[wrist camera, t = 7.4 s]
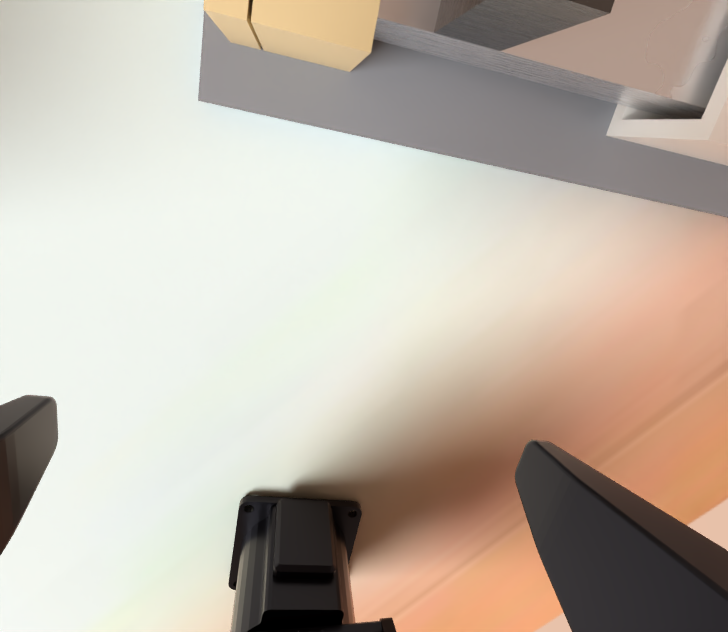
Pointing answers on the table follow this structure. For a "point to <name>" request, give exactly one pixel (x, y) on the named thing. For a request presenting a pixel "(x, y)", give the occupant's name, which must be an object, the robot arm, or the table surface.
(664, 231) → the table surface
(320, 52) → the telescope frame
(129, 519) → the table surface
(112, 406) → the table surface
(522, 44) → the steel t-shaped block
